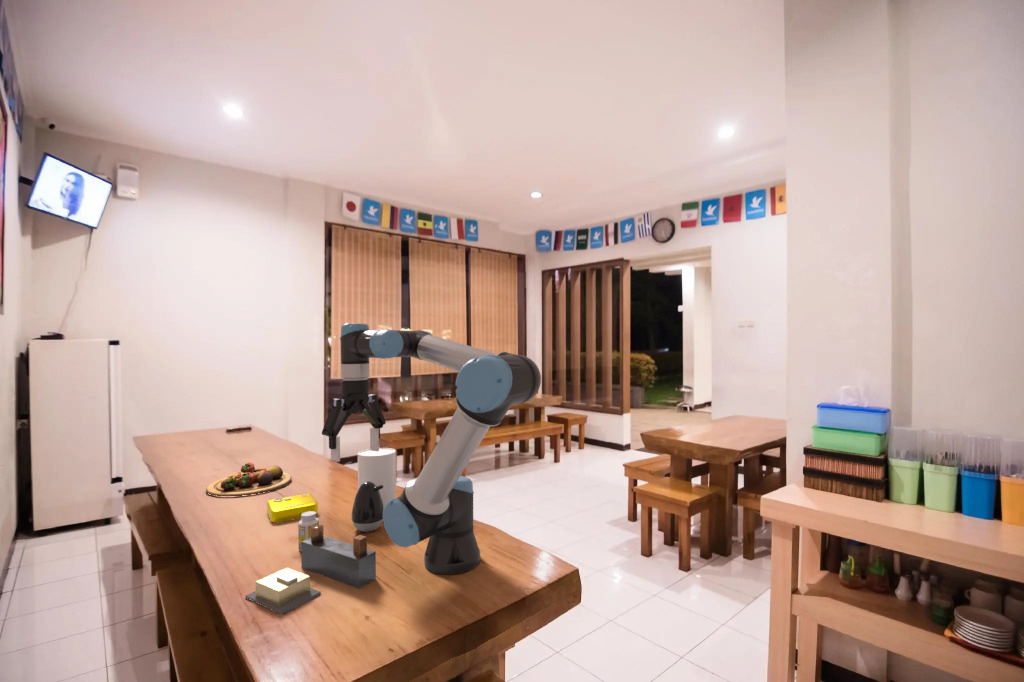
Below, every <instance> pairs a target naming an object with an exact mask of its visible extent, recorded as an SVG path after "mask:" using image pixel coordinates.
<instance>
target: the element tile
mask: <svg viewBox="0 0 1024 682" xmlns="http://www.w3.org/2000/svg"><path fill="white" fill-rule="evenodd" d="M318 505H319V503H318V501H317V499H315V496H313V494H312V493H303V494H301V493H300V494H297V495H290V496H284V497H277V498H273V499H269V500H267V501H266V513H268V514H267V516H268V515H269V516H268V518H270V519H269V521H270V523H272V522H274V523H273V524H276V523H275V522H278V523H283V522H282V521H284V522H287V520H289V521H293V520H292V519H294V520H298V519H297V518H299V519H301V514H302V513H305V512H309V511H314V512H316V514H317V513H318V512H319V511H318V510H319V509H318V507H319V506H318ZM317 515H318V514H317Z"/></svg>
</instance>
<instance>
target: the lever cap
mask: <svg viewBox="0 0 1024 682" xmlns="http://www.w3.org/2000/svg"><path fill="white" fill-rule="evenodd" d="M310 588H311V576H310V575H309V574H306V573H303V572H300V571H297V570H295V569H292V568H290V567H284V568H283V569H280V570H278V571H276V572H273V573H271V574H269V575H267V576H265V577H263V578H262V577H261V578H260V579H258V580H255V591H256V597H258V598H260V599H262V600H265V601H267V602H269V603H271V604H273V605H276V606H278V607H280V606H282V605H284V604H286V603H288V602H290V601H291V600H293V599H295V598H297V597H299V596H301V595H303V594H305V593H307V592H309V591H310Z"/></svg>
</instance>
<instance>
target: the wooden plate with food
mask: <svg viewBox="0 0 1024 682" xmlns="http://www.w3.org/2000/svg"><path fill="white" fill-rule="evenodd" d="M292 479H293V478H292V476H291V474H290V473H288V472H285V471H283V469H282V468H281V467H280V466H279V465H276V464H272V466H271V467H270V468H269V469H267V468H266V467H259V468H257V469H256V467H255V464H254V463H252V462H247V463H245V464H244V465H241V467H240V471H234V472H232V473H230V474H229V475H227V476H226V477H223V478H220V479H217V480H215V481H213V482H212V483H210V484H209V485H207V487H206V488H205V493H206V492H207V493H209V494H211V495H217V496H242V495H251V494H258V493H263V492H268V491H272V490H275V491H277V490H276V489H278V490H280V489H279V488H281V489H283V488H284V486H285V487H286V485H287V484H288V485H289V484H290V483H291V482H292ZM288 485H287V486H288ZM282 487H283V488H282ZM272 492H273V491H272ZM207 493H206V494H207ZM268 493H269V492H268Z"/></svg>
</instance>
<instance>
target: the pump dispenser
mask: <svg viewBox="0 0 1024 682" xmlns="http://www.w3.org/2000/svg"><path fill="white" fill-rule="evenodd" d="M382 488H383V485H380V486H376V485H375V484H374V483H373V482H365V483H363V484H362V485H361V486H360V487H359V489H358V488H357V491H356V493H355V497H354V501H353V504H352V508H351V521H352V524H353V526H354V528H355V529H356V530H357V531H359V532H363V533H370V532H373V530H374V531H375V530H378V529H379V528H380V527H381V526H382V524H383V510H384V506H383V501H382V498H381V495H380V492H379V490H380V489H382ZM369 531H370V532H369Z"/></svg>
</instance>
